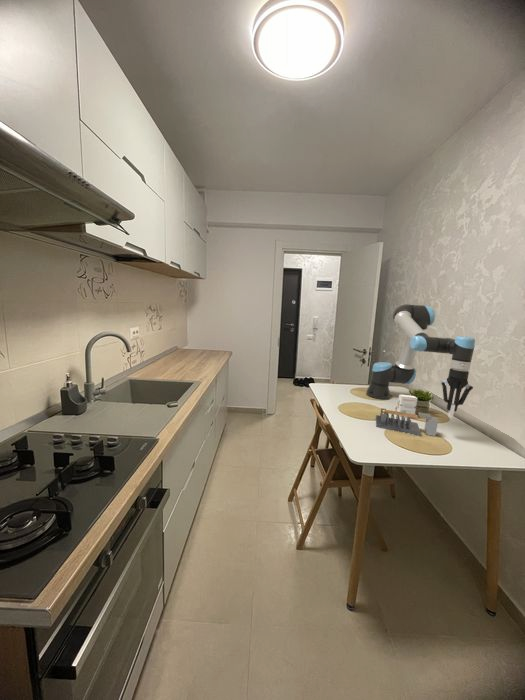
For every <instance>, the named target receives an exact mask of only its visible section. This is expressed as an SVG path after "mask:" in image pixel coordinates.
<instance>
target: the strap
mask: <svg viewBox="0 0 525 700" xmlns="http://www.w3.org/2000/svg"><path fill="white" fill-rule="evenodd" d="M385 409H386V408H383V409H382V412H383V413H388V414H389V415H391V414H394V416H395V415H396V416H397V415H401V416H407V417H413V418H412V419H418V418H419V415H418V414H416V413H415V414H410V413H403V412H397V410H391V409H386V410H385ZM407 417H406V418H407Z"/></svg>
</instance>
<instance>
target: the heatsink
mask: <svg viewBox="0 0 525 700" xmlns="http://www.w3.org/2000/svg"><path fill="white" fill-rule="evenodd" d="M382 409H383V408H382V407H381V409H380V415H378V414H376V415H375V427H376V428H380V429H383V430H389V431H393V430H394V431H393V432H398V431H399V433H403V432H405V433H404V434H407V433H410V434H409V435H412V434H414V435H413V436H417V435H419V436H418V437H421V434H422V432H421V430H420V427H419V424H418V422H413V421H412V420H411V418H410V417H404V416H402V417H399V415H396V416H395V415H394V414H388V413H383V412H382ZM384 409H385V410H387V408H384Z"/></svg>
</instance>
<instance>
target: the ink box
mask: <svg viewBox="0 0 525 700" xmlns="http://www.w3.org/2000/svg"><path fill="white" fill-rule="evenodd" d="M417 404H418V397H416V396H414V395H407V394H398V402H397V408H396V411H397V412H403V413H410V414H416V410H417ZM399 417H400V418H402V416H401V415H399ZM404 417H405V418H407V416H404ZM410 419H414V418H413V417H410Z"/></svg>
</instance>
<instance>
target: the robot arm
mask: <svg viewBox="0 0 525 700" xmlns="http://www.w3.org/2000/svg"><path fill="white" fill-rule="evenodd" d="M435 315H436V313H435V311H434V309H433V307H432V306H430V305H429V306H428V305H420V304H419V305H418V304H408V303H407V304H402V305H399V306H398V307H396V308H395V309H394V311H393V312H392V320H393V321H394V323H395V324H396V325H397V326H400V328H401V329H402V330H403V332H404V334H406V335H405V338H404V340H403V341H404V342H403V346H402V348H401V352H400V355H399V358H398V360H396V361H395V363H394V365H393V364H392V363H391V362H385V361H383V362H382V361H381V362H379V361H378V362H375V363H374V364H373V365H372V369H371V377H370V384H369V386H368V387H367V388H366V395H367V396H368V397H370V398H374V399H378V400H389V399H390V397H391V393H390V389H389V385H390V383H395V384H403V385H409V384H412V383H413V382H414V381H415V379H416V377H417V375H416V373H417V371H416V369H415V366H414V364H413V363H414V361H415V358H416V355H417V352H426V353H438V354H447V355H452V356H451V360H450V361H451V362H450V366H449V367H450V368H449V371H448V376H447V378H446V380H441V381H440V384H441V386H442V387H441V388H442V396H443V401H444V402H445V403H447V404H446V410H447V412H448V413H447V417H448V418H449V419H454V415H455V412H457V410H458V406H461V405H464V402H465V401H466V399H467V397H468V395H469V393H470V392H471V391H472V390H473V389H474V387H473V386H472V384H471V385H470V384H469V379H468V378H469V374H470V372H469V371H470V369H471V363H472V360H473V354H474V351H475V350H474V349H475V348H476V347H475V344H476V343H475V342H476V340H475V338H474V337H472V336H471V337H469V336H459V335H457V336H456V337H455V338H451V337H435V336H434V337H433V336H429V335H428V333H426V332H425V331H426V330H427V329H428V327H429V326H432V324H433V323H434V322H435V318H436V317H435ZM447 386H449V393H448V389H447V388H448V387H447ZM463 389H464V390H463ZM462 390H463V393H462ZM461 393H462V394H461ZM453 400H454V401H453Z"/></svg>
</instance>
